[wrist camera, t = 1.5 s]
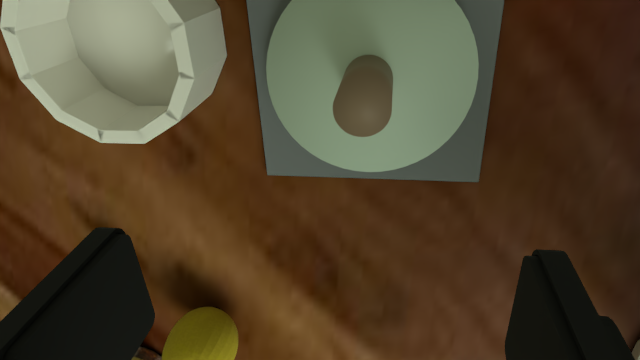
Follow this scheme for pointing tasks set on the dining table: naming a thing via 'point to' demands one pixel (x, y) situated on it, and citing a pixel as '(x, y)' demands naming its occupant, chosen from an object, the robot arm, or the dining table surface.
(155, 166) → the dining table surface
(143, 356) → the sauce bottle
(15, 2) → the bowl
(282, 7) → the mat
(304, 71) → the lid
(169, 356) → the lemon
